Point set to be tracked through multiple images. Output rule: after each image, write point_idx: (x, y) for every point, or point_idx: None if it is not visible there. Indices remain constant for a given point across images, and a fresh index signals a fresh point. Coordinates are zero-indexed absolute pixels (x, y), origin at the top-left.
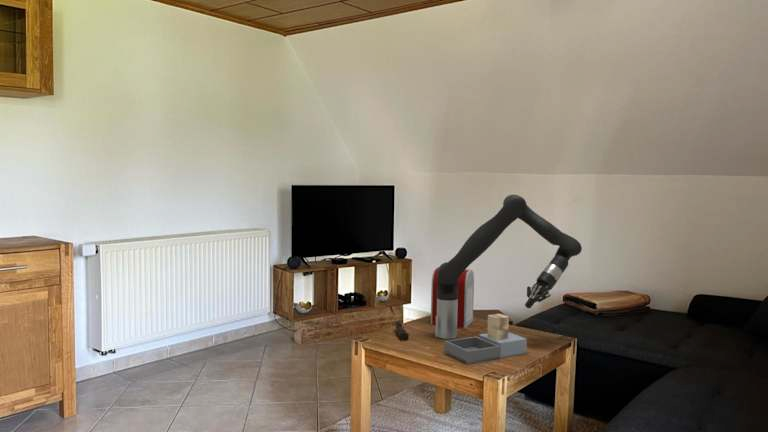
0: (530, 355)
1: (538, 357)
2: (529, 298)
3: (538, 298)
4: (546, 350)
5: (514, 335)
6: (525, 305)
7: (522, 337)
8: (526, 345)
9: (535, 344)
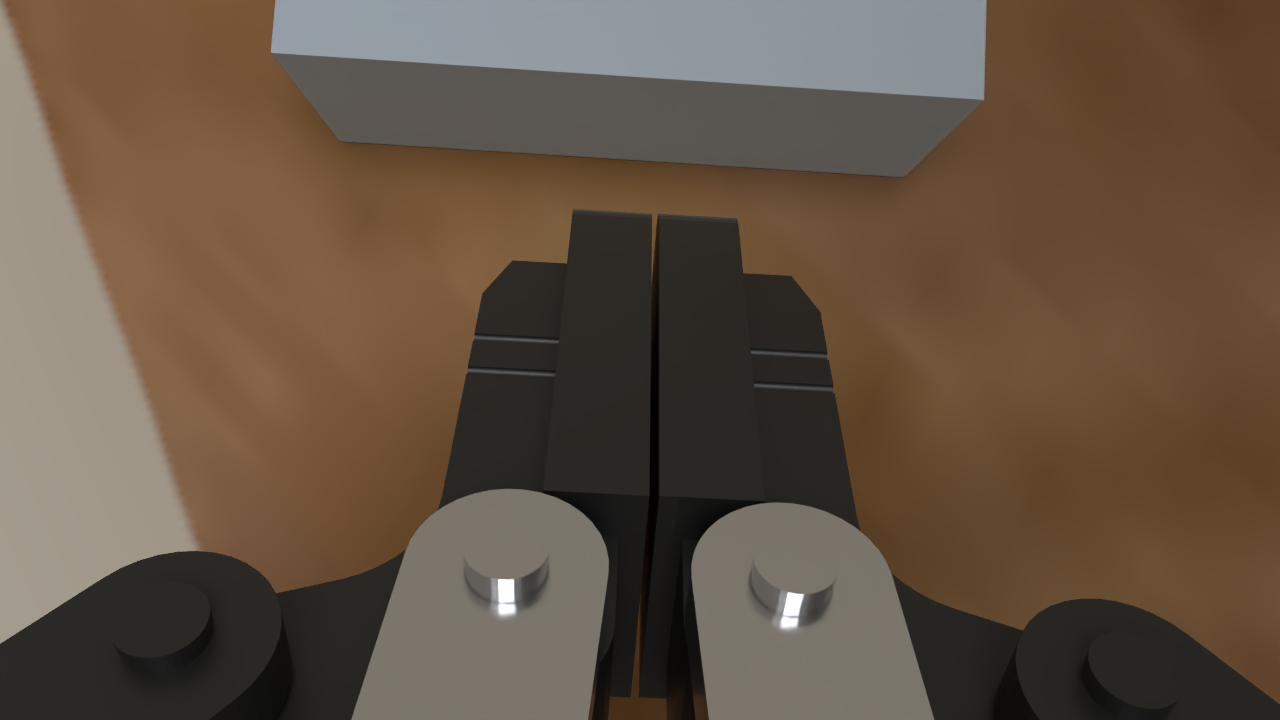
0: (219, 113)
1: (72, 148)
2: (759, 493)
3: (45, 683)
4: (275, 567)
5: (594, 12)
6: (703, 228)
7: (397, 50)
8: (306, 92)
9: (637, 670)
